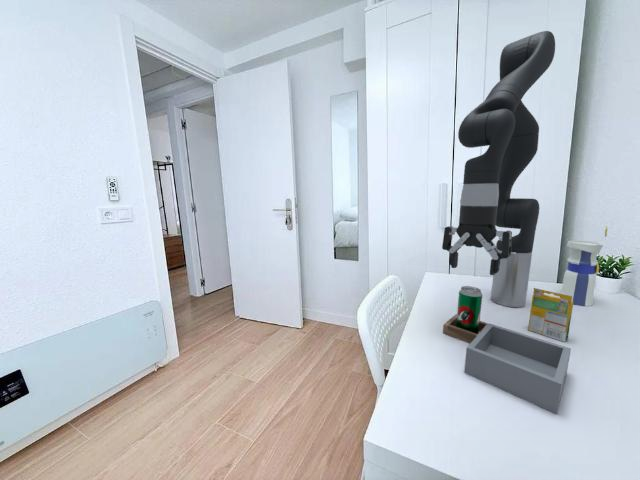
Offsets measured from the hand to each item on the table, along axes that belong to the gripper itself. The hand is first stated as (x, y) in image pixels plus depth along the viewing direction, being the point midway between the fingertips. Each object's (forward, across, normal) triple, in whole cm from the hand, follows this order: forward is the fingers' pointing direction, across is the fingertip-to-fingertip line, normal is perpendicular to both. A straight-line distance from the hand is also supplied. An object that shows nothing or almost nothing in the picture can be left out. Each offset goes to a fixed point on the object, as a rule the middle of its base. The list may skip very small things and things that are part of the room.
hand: (472, 270), depth 64 cm
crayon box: (+17, -14, -14) cm, 26 cm away
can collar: (+17, 0, 0) cm, 17 cm away
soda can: (+17, 0, 0) cm, 17 cm away
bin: (+17, -12, +9) cm, 22 cm away
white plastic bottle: (+16, -17, -46) cm, 52 cm away
